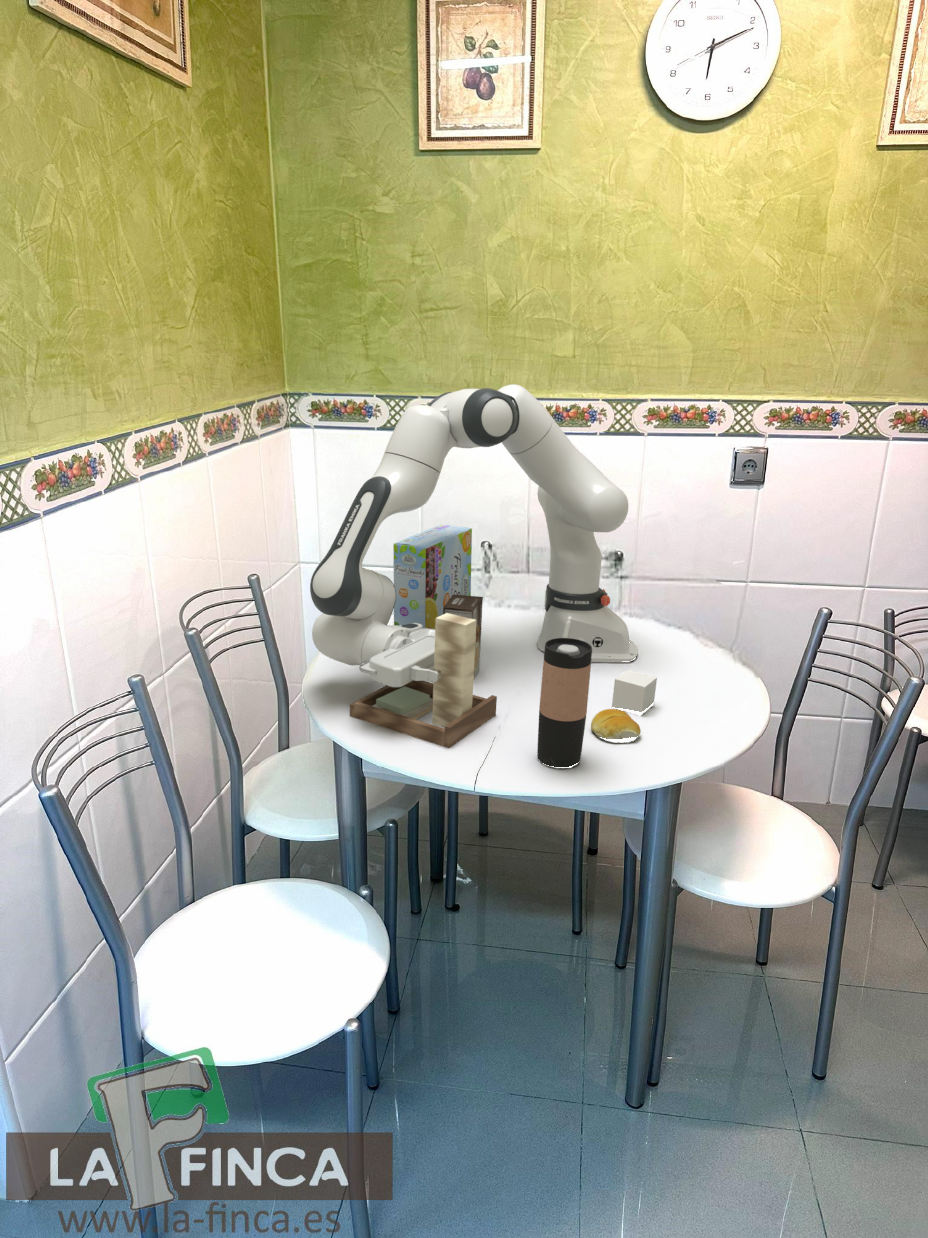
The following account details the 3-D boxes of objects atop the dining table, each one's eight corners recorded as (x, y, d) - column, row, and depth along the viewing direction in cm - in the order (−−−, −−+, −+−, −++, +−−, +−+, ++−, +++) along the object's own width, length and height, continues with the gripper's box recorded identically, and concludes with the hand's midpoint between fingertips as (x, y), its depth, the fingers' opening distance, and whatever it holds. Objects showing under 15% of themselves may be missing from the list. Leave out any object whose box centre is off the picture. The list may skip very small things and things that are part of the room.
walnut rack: (349, 717, 151) (349, 696, 150) (401, 688, 164) (401, 669, 163) (449, 749, 141) (449, 727, 140) (495, 716, 154) (496, 696, 153)
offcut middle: (371, 712, 153) (371, 706, 153) (403, 695, 161) (403, 689, 161) (403, 722, 150) (403, 716, 149) (434, 705, 157) (434, 699, 157)
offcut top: (376, 705, 153) (376, 699, 153) (404, 692, 159) (404, 686, 159) (401, 714, 150) (401, 708, 150) (429, 700, 156) (429, 695, 156)
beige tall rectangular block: (432, 724, 150) (435, 618, 144) (442, 718, 153) (446, 612, 146) (460, 733, 147) (465, 625, 141) (471, 726, 150) (476, 619, 144)
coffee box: (449, 666, 177) (452, 593, 172) (479, 670, 176) (483, 596, 170) (439, 683, 168) (442, 606, 163) (471, 686, 167) (475, 609, 162)
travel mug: (547, 744, 145) (556, 634, 138) (589, 756, 141) (600, 644, 135) (527, 761, 138) (536, 647, 132) (570, 775, 135) (581, 658, 128)
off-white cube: (624, 698, 165) (627, 669, 163) (653, 706, 162) (657, 677, 160) (611, 708, 160) (614, 678, 159) (641, 716, 157) (644, 687, 155)
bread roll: (625, 721, 155) (627, 701, 154) (645, 743, 147) (648, 722, 146) (582, 724, 154) (584, 703, 152) (601, 746, 145) (603, 725, 144)
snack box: (437, 630, 198) (441, 522, 190) (471, 637, 194) (476, 527, 186) (389, 659, 179) (391, 540, 171) (425, 667, 176) (429, 546, 167)
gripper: (353, 650, 144) (420, 669, 137) (420, 620, 160) (483, 635, 154) (353, 685, 146) (419, 705, 139) (419, 651, 162) (482, 667, 156)
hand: (453, 668), depth 147 cm, fingers open, 8 cm apart
